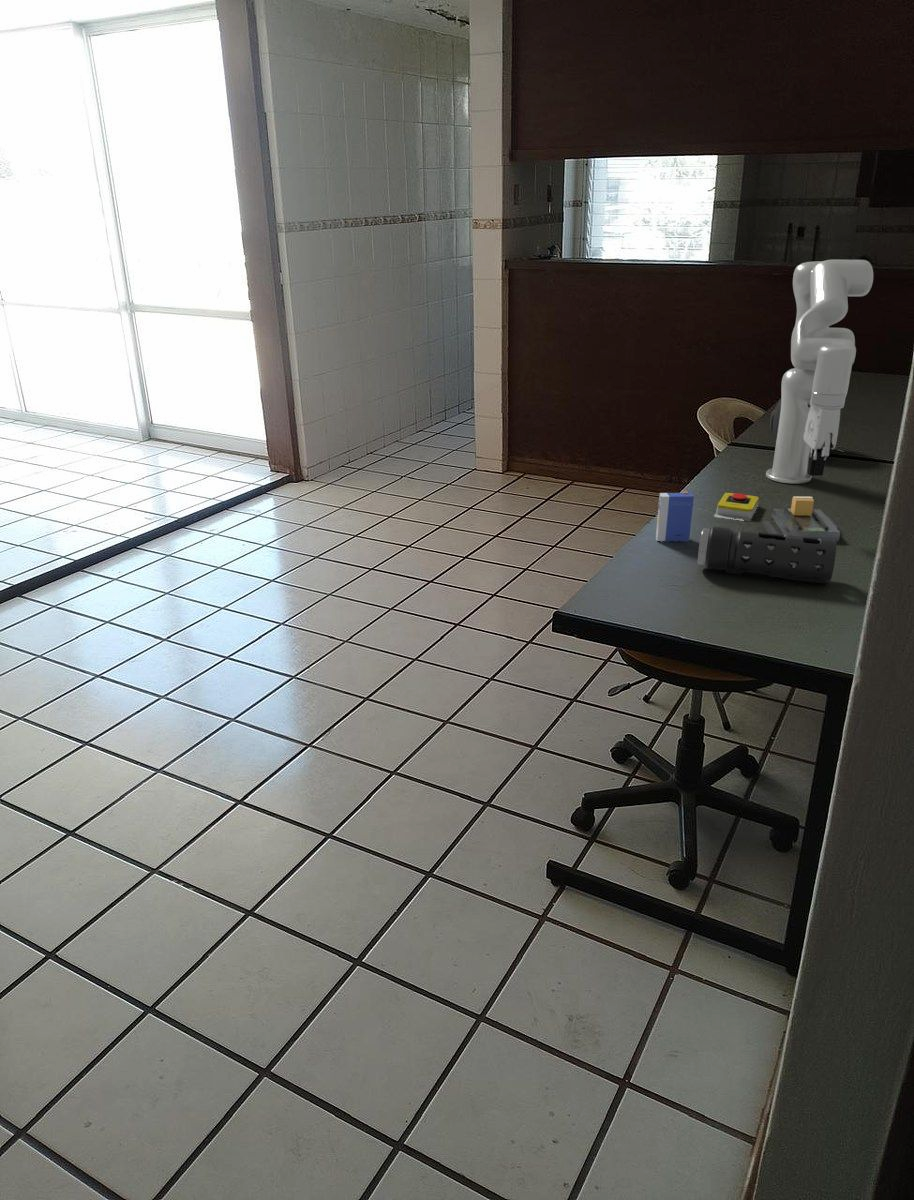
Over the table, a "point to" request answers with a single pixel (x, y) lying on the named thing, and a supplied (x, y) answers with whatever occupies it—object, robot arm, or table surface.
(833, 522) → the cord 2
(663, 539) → the walkman
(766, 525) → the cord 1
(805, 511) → the cardboard box
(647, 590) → the table surface
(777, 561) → the muzzle brake
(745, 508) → the emergency button
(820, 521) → the panel
